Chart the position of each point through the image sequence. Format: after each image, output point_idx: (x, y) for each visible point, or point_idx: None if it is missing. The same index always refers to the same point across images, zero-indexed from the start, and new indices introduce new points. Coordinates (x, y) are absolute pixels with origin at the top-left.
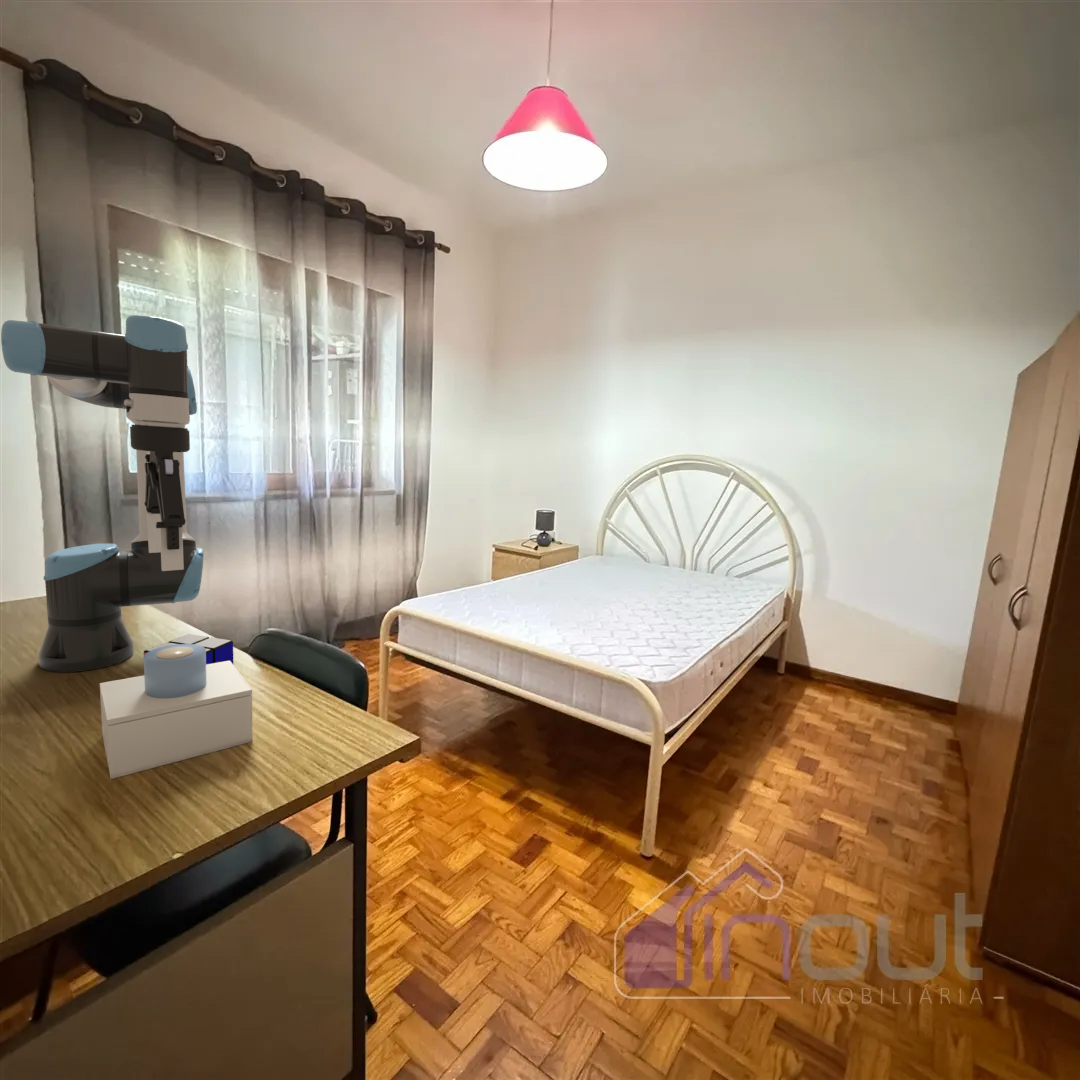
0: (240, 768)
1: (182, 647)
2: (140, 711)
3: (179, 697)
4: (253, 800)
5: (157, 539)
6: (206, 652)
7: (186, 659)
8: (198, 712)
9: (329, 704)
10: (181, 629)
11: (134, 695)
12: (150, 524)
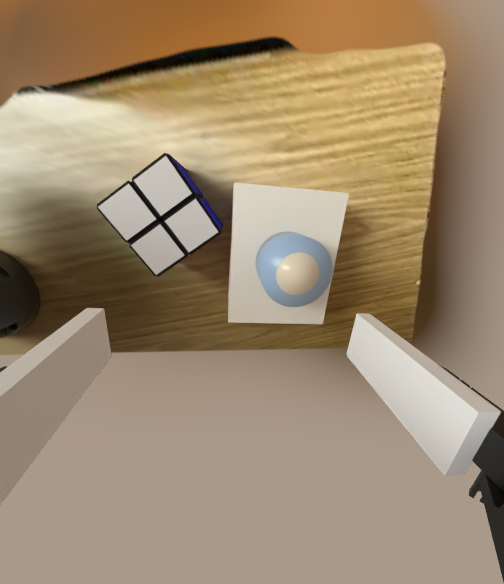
0: (357, 221)
1: (285, 263)
2: (324, 300)
3: None
4: (405, 228)
5: (83, 364)
6: (203, 207)
7: (328, 267)
8: None
9: (297, 74)
10: None
11: None
12: (40, 439)
